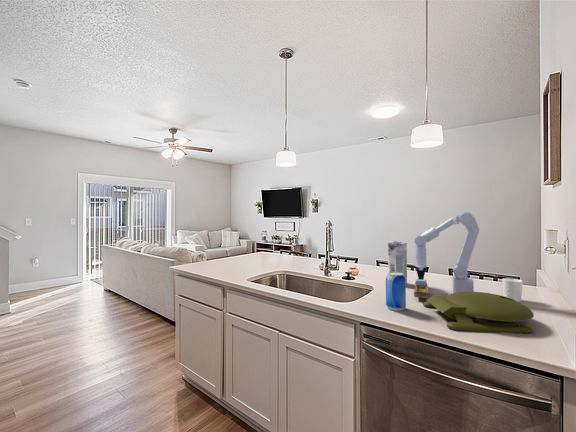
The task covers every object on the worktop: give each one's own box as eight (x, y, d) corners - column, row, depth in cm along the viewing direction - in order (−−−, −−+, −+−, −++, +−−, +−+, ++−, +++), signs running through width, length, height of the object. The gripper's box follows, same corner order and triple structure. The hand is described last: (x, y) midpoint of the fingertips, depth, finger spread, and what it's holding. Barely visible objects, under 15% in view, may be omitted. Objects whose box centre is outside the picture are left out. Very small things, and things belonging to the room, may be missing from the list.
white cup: (519, 298, 140) (519, 279, 140) (525, 303, 133) (524, 282, 133) (500, 297, 144) (500, 277, 144) (504, 301, 137) (504, 280, 137)
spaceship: (450, 332, 102) (449, 305, 102) (421, 305, 133) (421, 284, 133) (556, 336, 98) (556, 308, 98) (501, 308, 128) (501, 286, 128)
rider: (426, 286, 153) (426, 279, 153) (426, 287, 150) (426, 281, 150) (415, 285, 155) (415, 279, 155) (415, 287, 152) (415, 280, 152)
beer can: (396, 312, 122) (396, 276, 122) (382, 307, 129) (381, 272, 129) (409, 309, 126) (409, 274, 126) (394, 304, 133) (394, 271, 133)
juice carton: (409, 283, 173) (408, 240, 173) (398, 286, 167) (398, 241, 167) (396, 281, 180) (396, 239, 180) (386, 283, 174) (385, 240, 175)
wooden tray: (428, 291, 155) (427, 283, 155) (429, 302, 136) (429, 292, 136) (414, 290, 158) (414, 282, 158) (414, 300, 138) (413, 291, 138)
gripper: (413, 254, 166) (413, 277, 166) (412, 258, 153) (413, 282, 153) (426, 255, 163) (426, 278, 163) (427, 258, 150) (427, 284, 150)
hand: (420, 280), depth 158 cm, fingers closed
